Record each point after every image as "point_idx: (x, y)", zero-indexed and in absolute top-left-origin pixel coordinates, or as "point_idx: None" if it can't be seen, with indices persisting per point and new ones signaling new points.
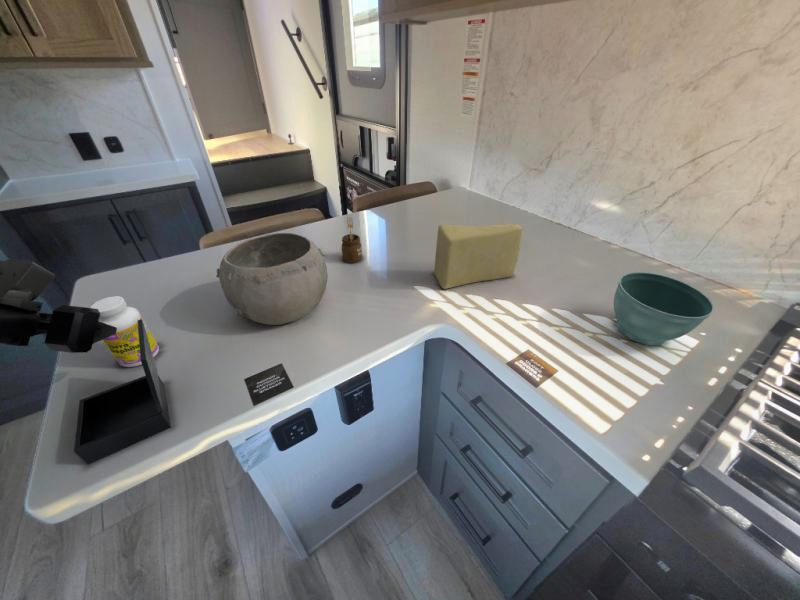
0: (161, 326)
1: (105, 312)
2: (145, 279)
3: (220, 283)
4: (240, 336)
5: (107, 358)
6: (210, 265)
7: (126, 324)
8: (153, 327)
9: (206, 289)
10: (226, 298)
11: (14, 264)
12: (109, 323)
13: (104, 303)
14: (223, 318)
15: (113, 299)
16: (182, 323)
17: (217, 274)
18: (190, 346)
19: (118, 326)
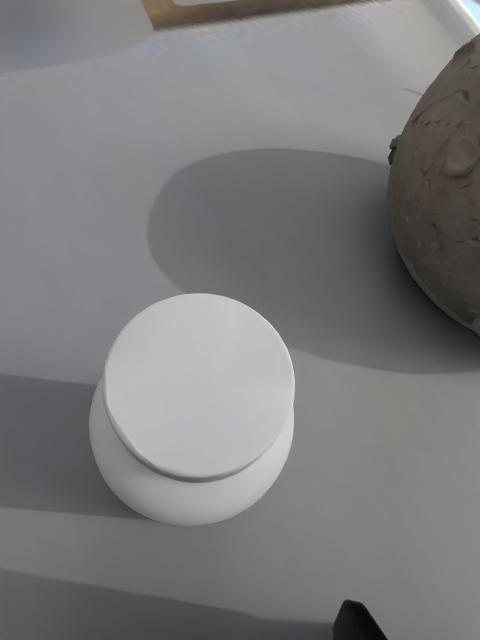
0: None
1: (241, 467)
2: (38, 111)
3: (477, 208)
4: (449, 382)
5: (74, 460)
6: (198, 90)
7: (281, 466)
8: None
9: (237, 176)
10: (452, 262)
11: None
12: (218, 486)
13: (183, 367)
14: (353, 299)
15: (214, 326)
16: None
17: (472, 165)
18: (328, 417)
19: (260, 493)
